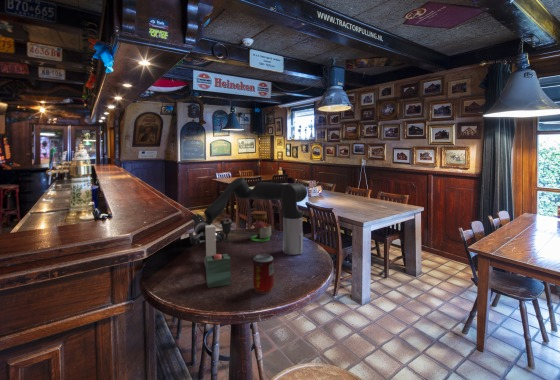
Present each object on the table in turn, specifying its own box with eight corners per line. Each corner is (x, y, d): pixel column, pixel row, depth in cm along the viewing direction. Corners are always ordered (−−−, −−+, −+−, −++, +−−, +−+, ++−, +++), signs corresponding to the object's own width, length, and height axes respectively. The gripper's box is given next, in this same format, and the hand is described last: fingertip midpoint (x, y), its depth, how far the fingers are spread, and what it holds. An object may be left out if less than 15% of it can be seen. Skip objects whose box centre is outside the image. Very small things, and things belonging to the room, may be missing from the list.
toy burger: (246, 241, 160) (245, 214, 158) (253, 235, 172) (253, 209, 170) (267, 243, 157) (267, 215, 155) (273, 236, 169) (273, 210, 167)
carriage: (218, 267, 122) (217, 227, 120) (206, 269, 120) (205, 228, 118) (216, 262, 128) (215, 223, 125) (204, 264, 126) (203, 224, 124)
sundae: (235, 239, 165) (234, 212, 163) (229, 242, 158) (228, 214, 156) (224, 237, 167) (224, 211, 165) (218, 241, 160) (217, 213, 158)
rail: (230, 284, 110) (230, 258, 108) (208, 288, 107) (207, 261, 105) (217, 260, 133) (216, 238, 132) (199, 262, 130) (198, 240, 129)
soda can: (275, 286, 108) (275, 253, 107) (270, 295, 101) (270, 260, 100) (257, 284, 110) (256, 252, 108) (250, 293, 103) (250, 259, 101)
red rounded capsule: (222, 269, 109) (222, 256, 108) (214, 270, 108) (214, 257, 107) (221, 266, 112) (220, 253, 111) (213, 267, 110) (213, 254, 110)
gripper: (219, 238, 143) (226, 248, 128) (188, 241, 138) (192, 252, 123) (218, 222, 142) (226, 231, 127) (187, 225, 137) (191, 235, 122)
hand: (209, 241), depth 125 cm, fingers open, 8 cm apart
